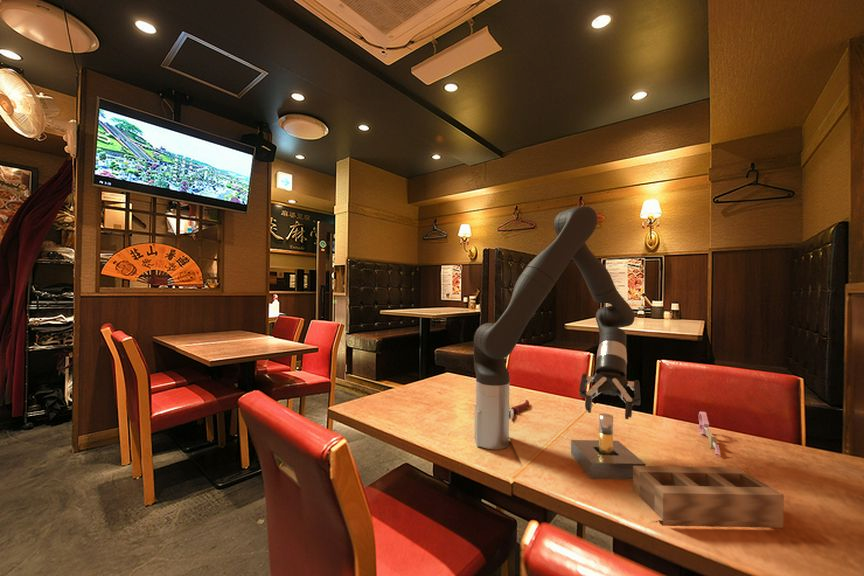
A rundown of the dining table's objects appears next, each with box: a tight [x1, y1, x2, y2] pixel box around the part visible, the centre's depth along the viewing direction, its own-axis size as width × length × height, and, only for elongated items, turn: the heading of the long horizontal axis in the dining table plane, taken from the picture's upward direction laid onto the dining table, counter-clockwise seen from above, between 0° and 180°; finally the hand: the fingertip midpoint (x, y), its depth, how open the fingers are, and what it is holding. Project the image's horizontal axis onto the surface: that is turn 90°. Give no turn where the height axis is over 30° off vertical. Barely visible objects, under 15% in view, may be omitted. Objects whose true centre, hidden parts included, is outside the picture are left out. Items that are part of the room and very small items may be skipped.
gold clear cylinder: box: [598, 413, 614, 455], centre depth 86 cm, size 3×3×12 cm
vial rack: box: [632, 465, 785, 529], centre depth 71 cm, size 22×10×6 cm, turn 90°
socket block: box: [570, 439, 647, 481], centre depth 86 cm, size 12×12×4 cm
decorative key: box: [698, 411, 721, 457], centre depth 101 cm, size 7×1×20 cm
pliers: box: [509, 399, 530, 421], centre depth 125 cm, size 12×20×3 cm, turn 161°
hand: (607, 414), depth 90 cm, fingers open, 8 cm apart
